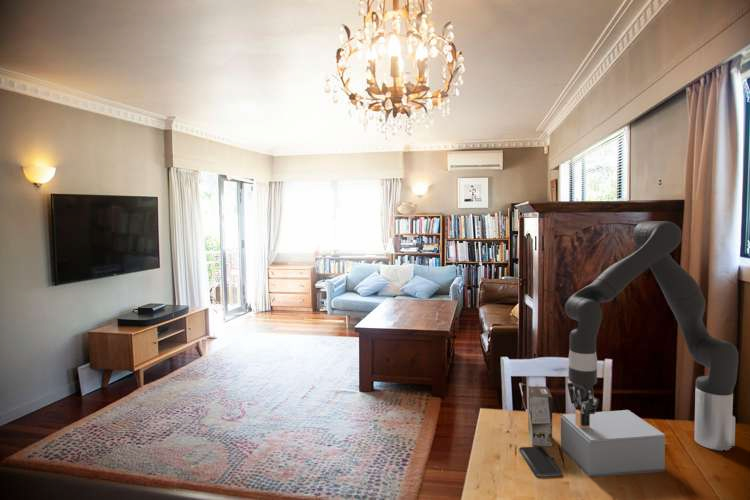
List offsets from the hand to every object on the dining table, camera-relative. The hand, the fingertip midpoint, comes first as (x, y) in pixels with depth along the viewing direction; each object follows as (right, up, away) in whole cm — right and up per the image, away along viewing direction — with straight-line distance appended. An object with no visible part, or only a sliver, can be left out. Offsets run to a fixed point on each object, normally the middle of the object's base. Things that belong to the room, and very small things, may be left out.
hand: (582, 422), depth 131 cm
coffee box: (-7, -11, +14) cm, 19 cm away
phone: (-12, -13, +1) cm, 18 cm away
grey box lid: (+9, -1, +1) cm, 9 cm away
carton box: (+9, -11, +1) cm, 14 cm away
